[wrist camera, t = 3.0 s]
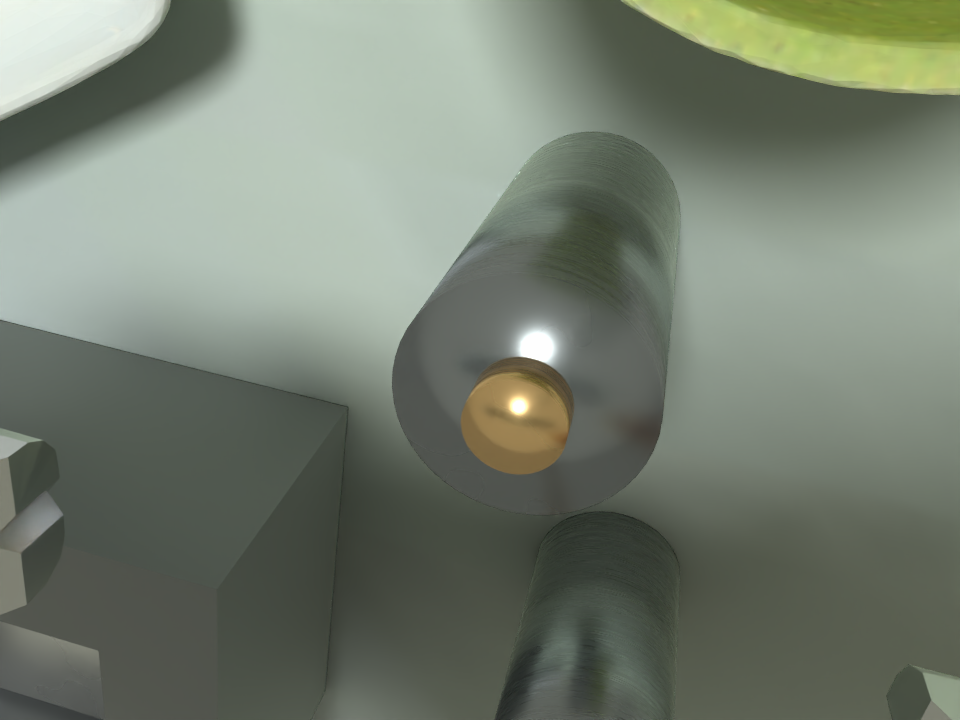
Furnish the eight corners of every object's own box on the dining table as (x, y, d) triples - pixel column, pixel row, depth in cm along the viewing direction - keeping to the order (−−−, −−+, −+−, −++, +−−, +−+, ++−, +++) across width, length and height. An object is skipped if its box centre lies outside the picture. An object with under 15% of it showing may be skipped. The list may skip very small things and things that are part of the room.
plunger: (-12, 515, 19) (-47, 545, 18) (161, 564, 18) (134, 597, 17) (11, 648, 21) (-20, 681, 20) (167, 696, 20) (143, 732, 19)
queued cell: (551, 496, 19) (471, 800, 13) (696, 533, 19) (690, 867, 12) (527, 602, 21) (444, 922, 14) (660, 639, 20) (638, 986, 14)
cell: (522, 116, 16) (388, 266, 9) (700, 150, 15) (695, 334, 9) (495, 278, 17) (365, 506, 11) (657, 314, 17) (623, 575, 10)
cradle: (-37, 311, 21) (-286, 446, 16) (347, 407, 19) (217, 589, 14) (9, 597, 25) (-172, 777, 20) (325, 691, 24) (218, 908, 19)
